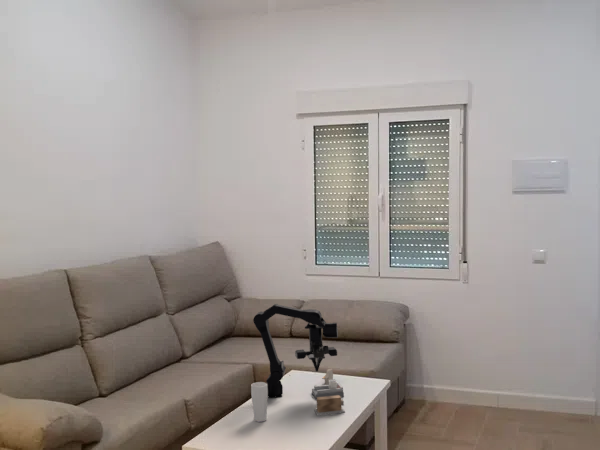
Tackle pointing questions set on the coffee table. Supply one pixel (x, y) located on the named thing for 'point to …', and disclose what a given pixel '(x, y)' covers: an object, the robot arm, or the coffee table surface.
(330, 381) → the toggle
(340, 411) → the pad
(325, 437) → the coffee table surface
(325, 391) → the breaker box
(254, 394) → the drinking glass
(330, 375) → the architectural model
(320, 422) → the coffee table surface
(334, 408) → the brown rectangular block
